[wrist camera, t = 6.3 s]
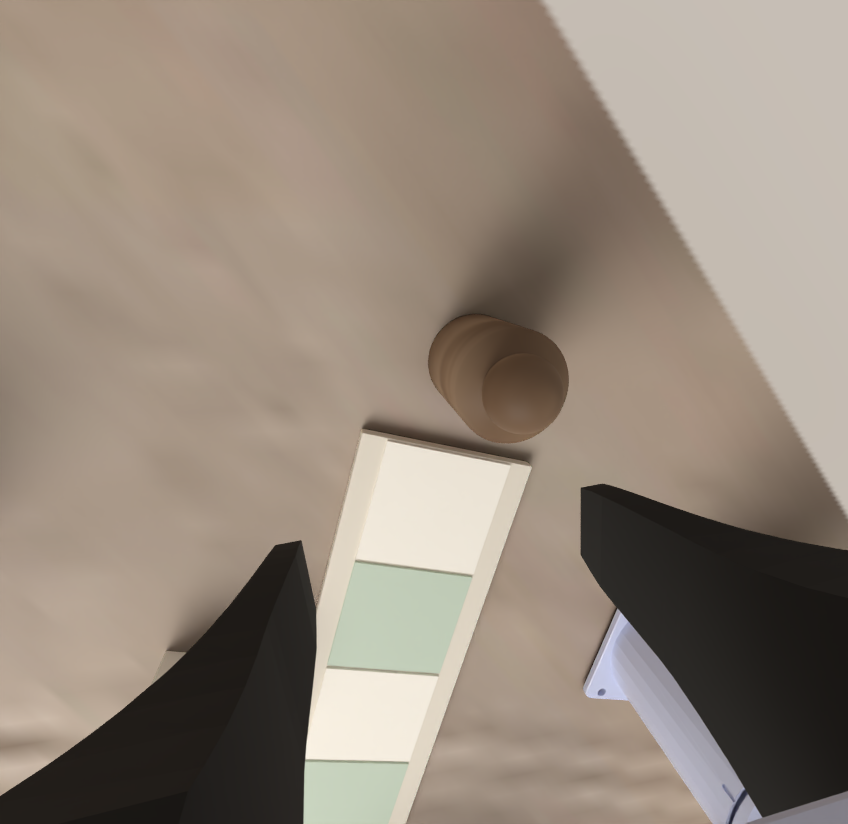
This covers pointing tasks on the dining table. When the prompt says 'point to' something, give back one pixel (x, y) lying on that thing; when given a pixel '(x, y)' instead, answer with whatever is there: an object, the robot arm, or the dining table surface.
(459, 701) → the dining table surface
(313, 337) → the dining table surface
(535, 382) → the pawn
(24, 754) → the dining table surface
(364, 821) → the board
